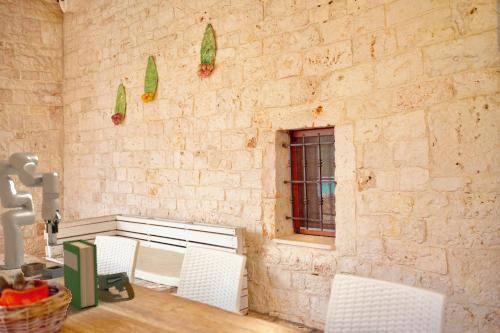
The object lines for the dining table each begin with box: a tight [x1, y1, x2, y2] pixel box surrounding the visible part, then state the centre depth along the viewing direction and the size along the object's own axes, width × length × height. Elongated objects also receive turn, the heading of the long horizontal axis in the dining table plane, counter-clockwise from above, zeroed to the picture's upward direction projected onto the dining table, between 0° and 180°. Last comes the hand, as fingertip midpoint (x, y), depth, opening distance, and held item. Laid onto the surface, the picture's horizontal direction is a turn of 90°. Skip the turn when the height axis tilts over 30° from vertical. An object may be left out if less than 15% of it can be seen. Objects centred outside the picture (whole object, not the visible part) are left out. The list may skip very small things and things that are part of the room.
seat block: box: [41, 264, 64, 280], centre depth 215 cm, size 9×9×4 cm
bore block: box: [20, 261, 47, 278], centre depth 220 cm, size 8×8×5 cm
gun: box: [97, 271, 136, 299], centre depth 183 cm, size 3×25×15 cm, turn 50°
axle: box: [47, 223, 58, 247], centre depth 215 cm, size 4×4×11 cm
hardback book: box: [62, 239, 99, 311], centre depth 170 cm, size 18×7×24 cm, turn 40°
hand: (52, 232), depth 215 cm, fingers closed on axle, 4 cm apart
